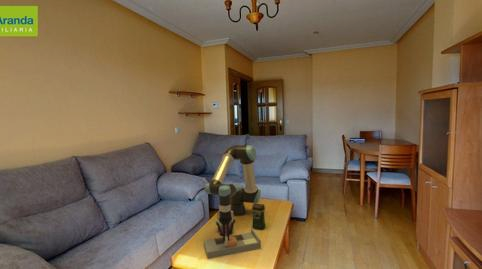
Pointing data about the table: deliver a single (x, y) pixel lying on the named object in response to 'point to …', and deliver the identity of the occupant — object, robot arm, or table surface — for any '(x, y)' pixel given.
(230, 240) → the block
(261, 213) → the coffee jar
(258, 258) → the table surface
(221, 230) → the candy bar box
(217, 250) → the block
